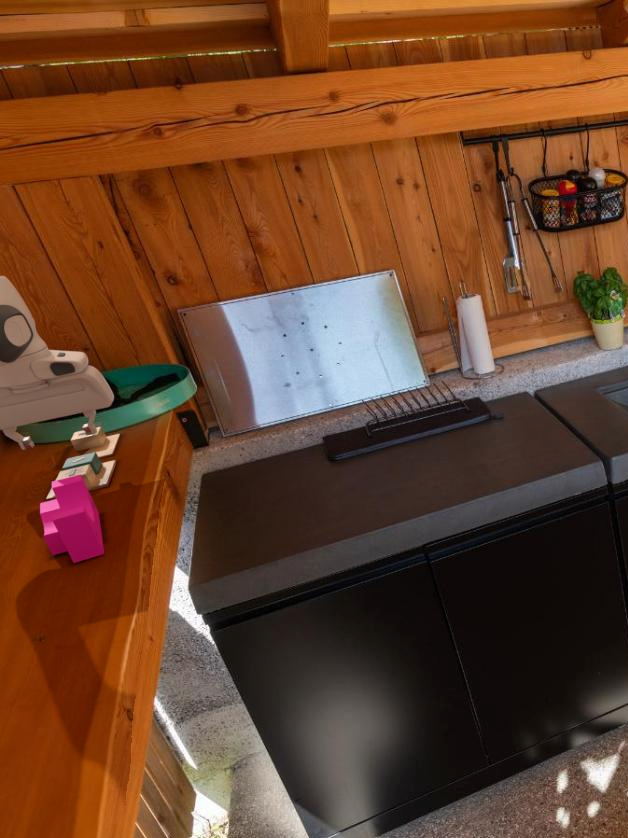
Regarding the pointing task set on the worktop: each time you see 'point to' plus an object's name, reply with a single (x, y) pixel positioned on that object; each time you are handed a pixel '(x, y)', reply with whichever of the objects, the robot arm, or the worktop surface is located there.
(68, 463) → the teal slotted box
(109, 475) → the beige base plate
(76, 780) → the worktop surface
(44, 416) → the robot arm
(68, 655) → the worktop surface
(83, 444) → the beige flat stepped block
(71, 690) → the worktop surface
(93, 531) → the toy block
